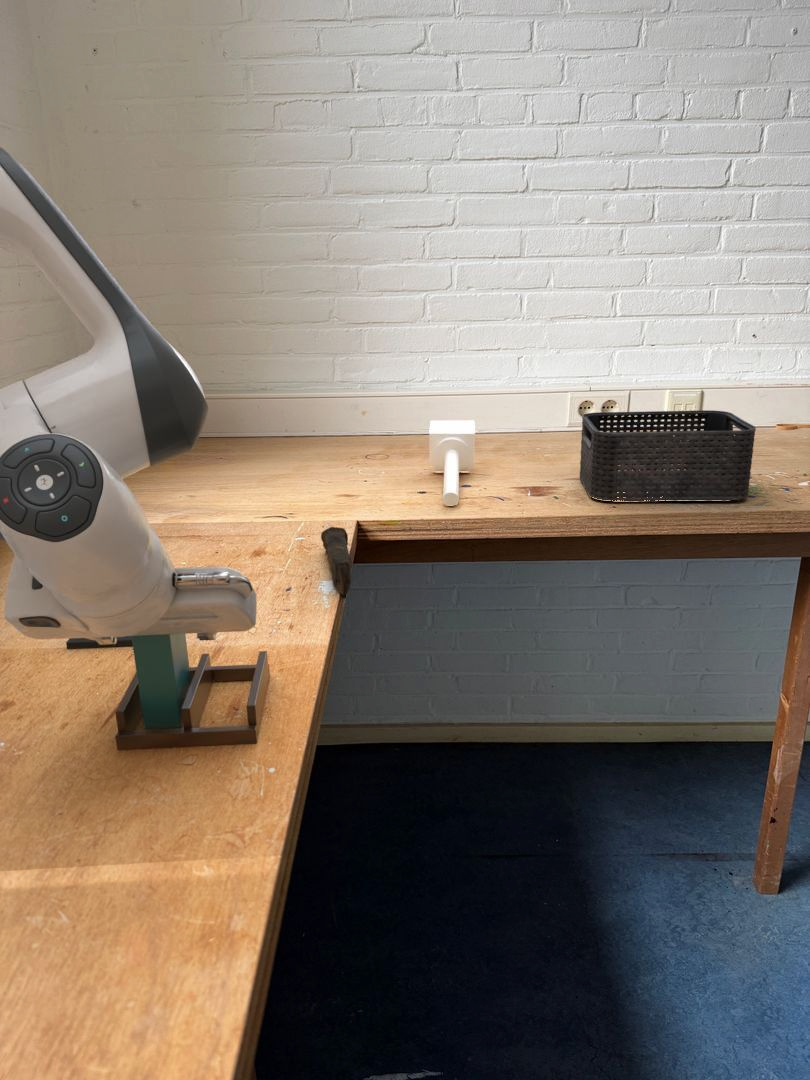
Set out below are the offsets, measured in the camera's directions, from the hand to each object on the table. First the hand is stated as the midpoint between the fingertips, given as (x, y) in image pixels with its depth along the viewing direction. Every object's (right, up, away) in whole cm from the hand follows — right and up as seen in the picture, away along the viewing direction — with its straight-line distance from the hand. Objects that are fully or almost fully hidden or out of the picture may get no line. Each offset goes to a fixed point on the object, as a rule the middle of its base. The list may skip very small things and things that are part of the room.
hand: (159, 634), depth 77 cm
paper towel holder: (+33, +20, +81) cm, 90 cm away
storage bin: (+72, +19, +76) cm, 106 cm away
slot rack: (+3, -8, +3) cm, 9 cm away
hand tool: (+15, +4, +38) cm, 41 cm away
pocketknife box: (0, -8, +3) cm, 8 cm away
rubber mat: (-10, -1, +22) cm, 24 cm away
